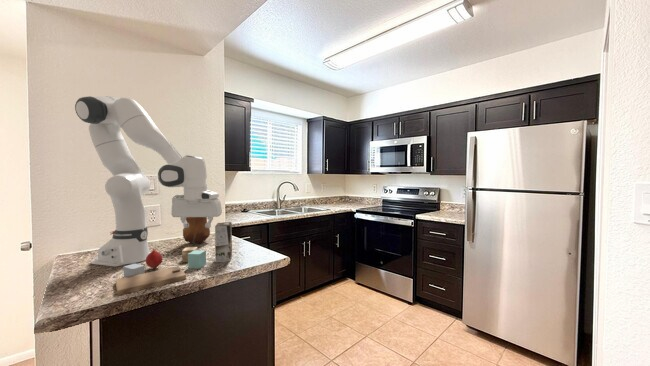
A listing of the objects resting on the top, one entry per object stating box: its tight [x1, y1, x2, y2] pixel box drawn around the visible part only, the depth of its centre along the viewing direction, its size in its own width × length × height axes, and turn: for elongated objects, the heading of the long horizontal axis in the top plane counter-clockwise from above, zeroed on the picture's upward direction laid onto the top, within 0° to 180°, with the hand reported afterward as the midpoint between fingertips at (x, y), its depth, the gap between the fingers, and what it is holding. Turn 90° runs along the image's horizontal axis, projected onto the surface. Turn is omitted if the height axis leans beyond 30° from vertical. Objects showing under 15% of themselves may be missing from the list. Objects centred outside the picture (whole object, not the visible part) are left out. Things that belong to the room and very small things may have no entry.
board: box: [115, 266, 187, 296], centre depth 96 cm, size 20×12×2 cm, turn 131°
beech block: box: [181, 246, 198, 263], centre depth 120 cm, size 5×5×5 cm
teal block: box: [187, 249, 207, 270], centre depth 111 cm, size 5×5×6 cm
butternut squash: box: [182, 217, 211, 245], centre depth 146 cm, size 14×13×25 cm
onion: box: [145, 249, 163, 270], centre depth 109 cm, size 6×6×8 cm
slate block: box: [123, 263, 146, 278], centre depth 101 cm, size 6×4×4 cm, turn 66°
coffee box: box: [214, 221, 233, 263], centre depth 121 cm, size 9×6×16 cm
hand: (197, 227), depth 111 cm, fingers open, 8 cm apart
